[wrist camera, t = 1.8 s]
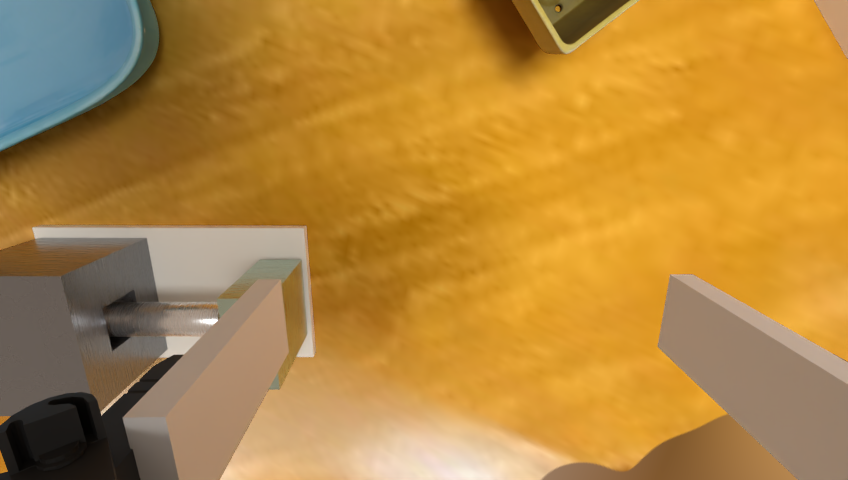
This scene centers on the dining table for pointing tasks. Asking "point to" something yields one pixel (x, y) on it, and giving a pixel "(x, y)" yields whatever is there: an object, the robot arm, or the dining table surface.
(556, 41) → the flower pot
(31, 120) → the casserole dish
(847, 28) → the grater
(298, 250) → the base board
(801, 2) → the dining table surface
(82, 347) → the bearing block
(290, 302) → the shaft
